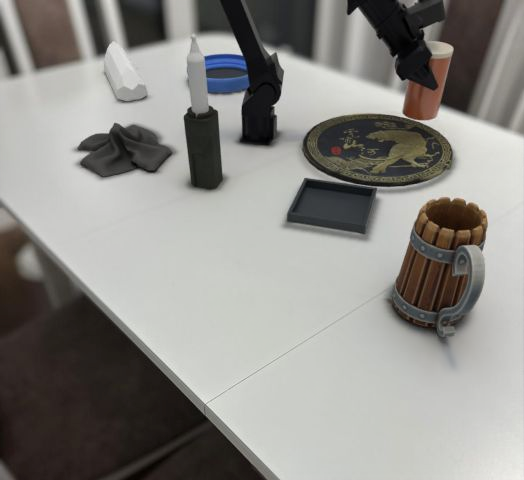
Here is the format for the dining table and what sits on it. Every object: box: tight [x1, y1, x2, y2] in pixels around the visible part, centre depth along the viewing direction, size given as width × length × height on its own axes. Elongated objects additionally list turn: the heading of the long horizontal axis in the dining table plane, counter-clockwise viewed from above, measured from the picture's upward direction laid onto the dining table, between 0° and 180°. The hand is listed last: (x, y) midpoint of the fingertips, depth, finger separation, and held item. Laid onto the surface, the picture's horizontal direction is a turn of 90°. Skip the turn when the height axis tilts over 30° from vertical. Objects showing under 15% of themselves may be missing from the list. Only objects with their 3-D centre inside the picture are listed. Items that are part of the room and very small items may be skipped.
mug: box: [391, 196, 489, 338], centre depth 69 cm, size 16×11×15 cm
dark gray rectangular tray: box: [286, 177, 378, 234], centre depth 92 cm, size 13×12×2 cm
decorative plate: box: [302, 112, 454, 188], centre depth 107 cm, size 30×2×30 cm
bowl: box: [186, 53, 250, 93], centre depth 133 cm, size 18×18×4 cm
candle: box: [183, 33, 224, 190], centre depth 91 cm, size 5×5×25 cm
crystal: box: [103, 41, 149, 102], centre depth 131 cm, size 7×7×24 cm
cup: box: [401, 40, 455, 121], centre depth 102 cm, size 7×7×12 cm
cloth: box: [77, 122, 173, 177], centre depth 107 cm, size 22×19×6 cm
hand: (433, 81), depth 101 cm, fingers closed on cup, 7 cm apart
